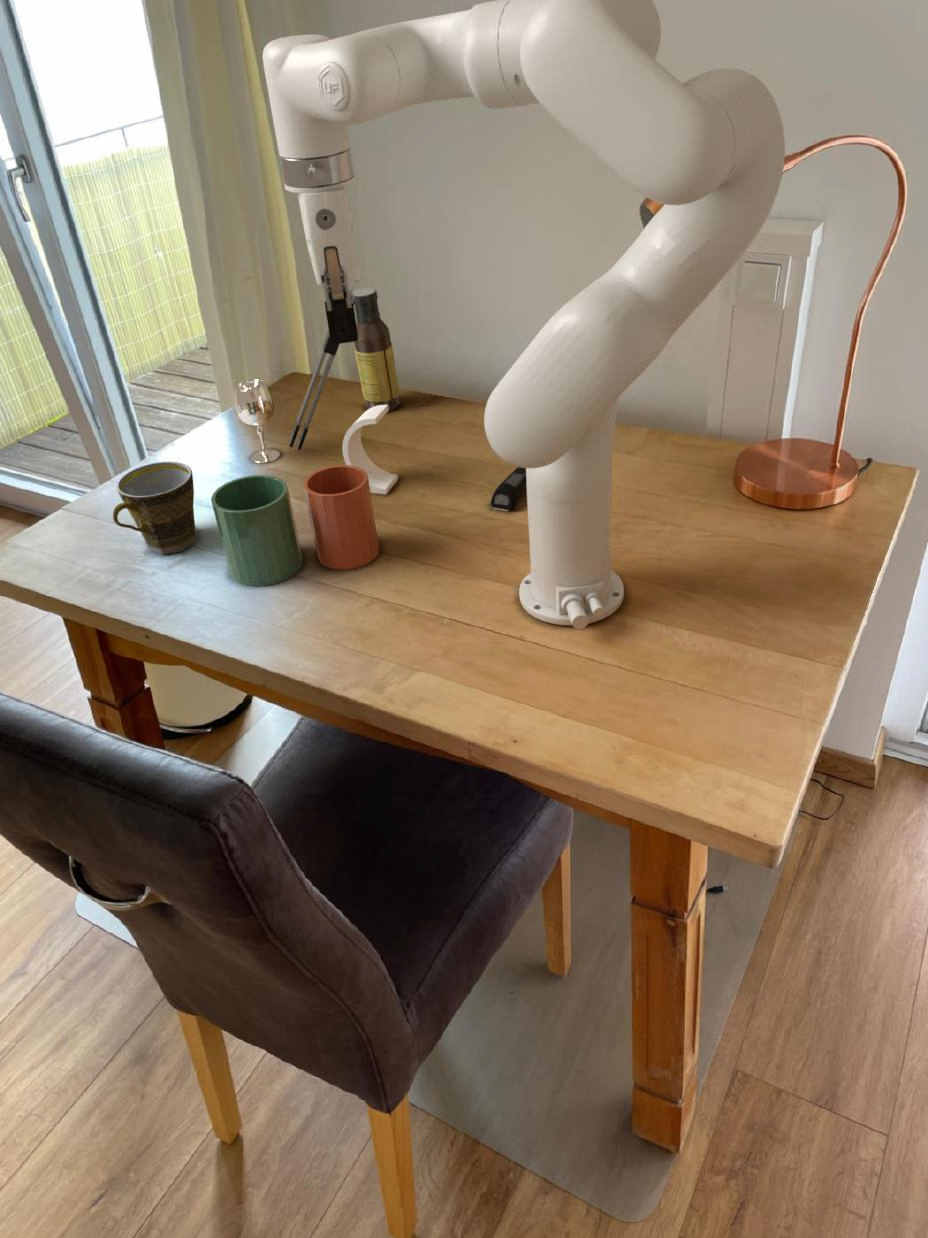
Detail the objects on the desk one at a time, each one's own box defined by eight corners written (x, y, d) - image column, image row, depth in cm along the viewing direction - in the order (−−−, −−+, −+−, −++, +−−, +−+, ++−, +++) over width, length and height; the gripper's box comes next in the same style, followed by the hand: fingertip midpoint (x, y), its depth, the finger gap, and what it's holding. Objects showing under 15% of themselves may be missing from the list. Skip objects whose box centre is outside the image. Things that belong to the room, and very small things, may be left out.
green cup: (304, 579, 130) (288, 505, 123) (229, 591, 129) (209, 517, 123) (301, 541, 138) (286, 470, 131) (230, 552, 137) (212, 481, 130)
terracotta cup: (381, 564, 131) (370, 490, 125) (319, 574, 131) (304, 500, 124) (376, 532, 138) (365, 461, 131) (316, 542, 137) (302, 470, 131)
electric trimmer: (557, 464, 150) (556, 444, 148) (513, 512, 139) (511, 492, 137) (534, 460, 152) (533, 441, 150) (488, 508, 141) (487, 488, 139)
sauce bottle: (387, 395, 176) (372, 280, 164) (407, 405, 171) (393, 288, 160) (356, 406, 173) (338, 291, 161) (376, 417, 168) (359, 299, 157)
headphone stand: (386, 494, 146) (375, 418, 139) (349, 490, 148) (336, 415, 141) (398, 479, 150) (388, 404, 143) (361, 475, 152) (349, 402, 145)
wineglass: (241, 463, 158) (224, 392, 151) (257, 447, 163) (242, 377, 156) (274, 466, 157) (258, 394, 150) (289, 449, 161) (275, 378, 154)
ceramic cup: (172, 518, 146) (154, 456, 140) (223, 532, 141) (207, 468, 136) (105, 562, 137) (83, 498, 131) (157, 579, 133) (137, 513, 127)
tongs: (373, 441, 124) (353, 293, 114) (290, 451, 123) (262, 304, 113) (371, 434, 126) (352, 288, 115) (290, 444, 125) (262, 298, 114)
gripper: (358, 182, 100) (381, 358, 111) (348, 150, 113) (370, 311, 124) (283, 191, 100) (314, 367, 111) (282, 159, 113) (310, 319, 123)
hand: (344, 336), depth 117 cm, fingers closed on tongs, 2 cm apart
